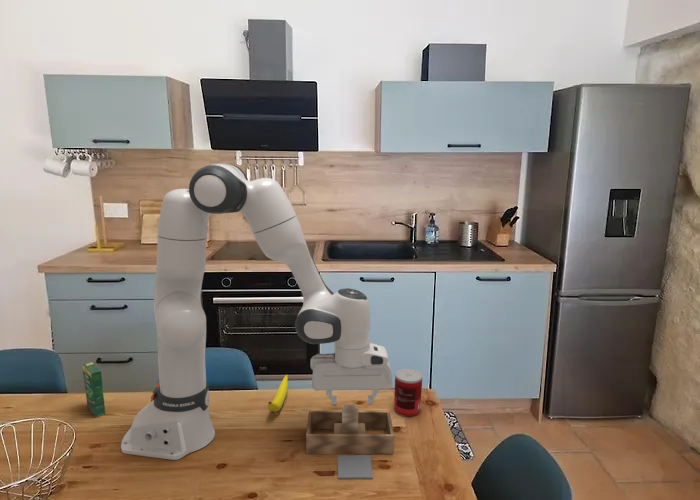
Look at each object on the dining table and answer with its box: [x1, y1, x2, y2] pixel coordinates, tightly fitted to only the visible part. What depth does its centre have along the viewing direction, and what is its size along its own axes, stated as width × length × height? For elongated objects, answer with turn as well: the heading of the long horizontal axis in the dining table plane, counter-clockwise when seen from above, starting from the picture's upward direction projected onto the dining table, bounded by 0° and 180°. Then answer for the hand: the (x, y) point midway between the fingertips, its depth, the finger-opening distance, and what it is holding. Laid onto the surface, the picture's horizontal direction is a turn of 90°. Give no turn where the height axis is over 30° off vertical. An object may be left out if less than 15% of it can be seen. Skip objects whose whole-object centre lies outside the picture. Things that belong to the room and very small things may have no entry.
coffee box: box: [81, 361, 106, 418], centre depth 139 cm, size 8×3×13 cm, turn 43°
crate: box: [305, 410, 395, 455], centre depth 129 cm, size 22×12×5 cm, turn 92°
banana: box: [267, 374, 289, 412], centre depth 144 cm, size 3×19×6 cm, turn 173°
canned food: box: [393, 368, 423, 417], centre depth 143 cm, size 8×8×11 cm
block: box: [341, 404, 359, 434], centre depth 128 cm, size 4×4×6 cm
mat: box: [337, 455, 374, 480], centre depth 118 cm, size 8×8×1 cm
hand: (352, 403), depth 127 cm, fingers open, 8 cm apart
